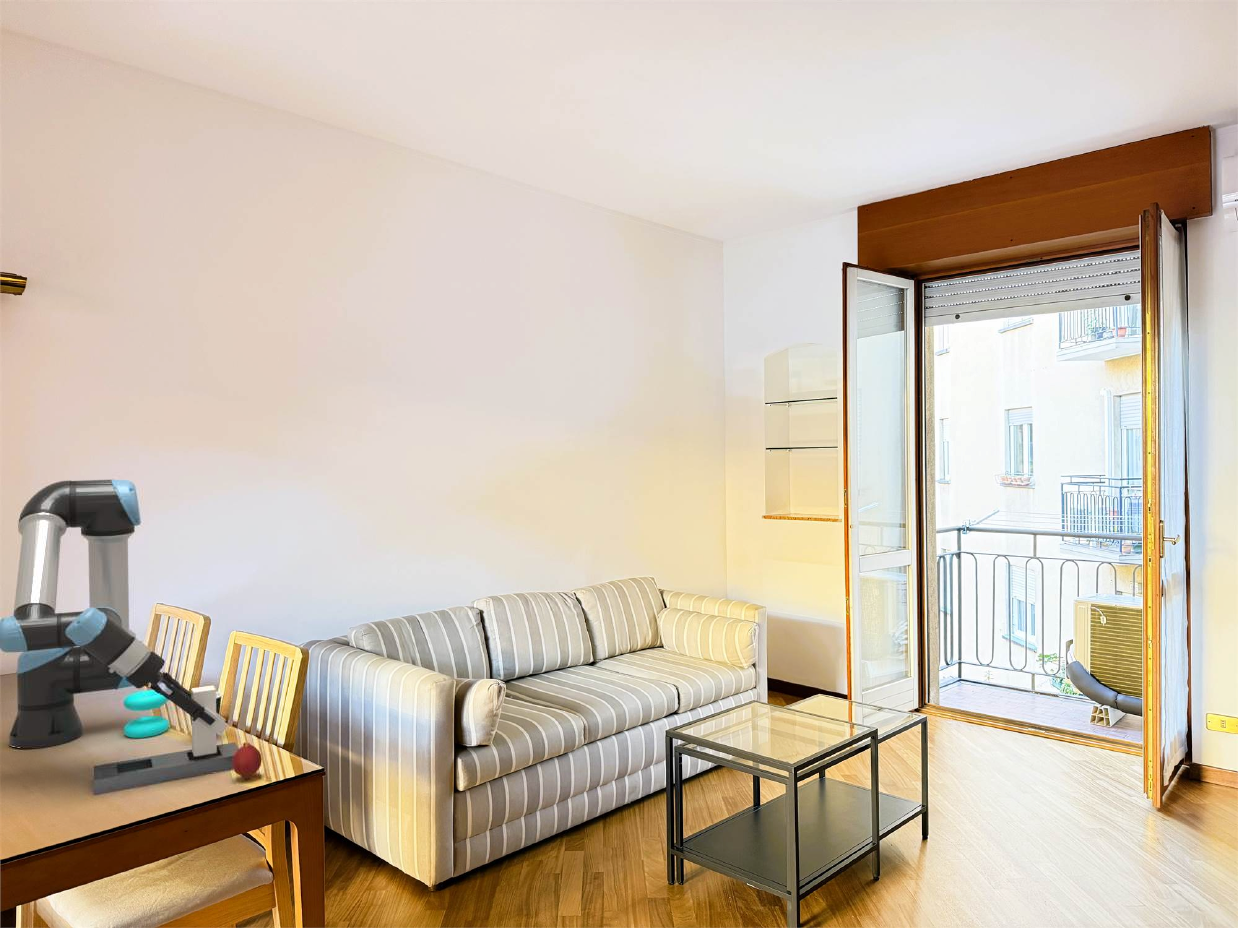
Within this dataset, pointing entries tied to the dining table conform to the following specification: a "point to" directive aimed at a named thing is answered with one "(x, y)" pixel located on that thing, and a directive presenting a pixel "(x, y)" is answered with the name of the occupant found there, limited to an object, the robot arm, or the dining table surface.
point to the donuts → (149, 723)
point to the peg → (202, 734)
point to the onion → (246, 760)
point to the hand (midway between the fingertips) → (222, 727)
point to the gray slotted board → (161, 768)
